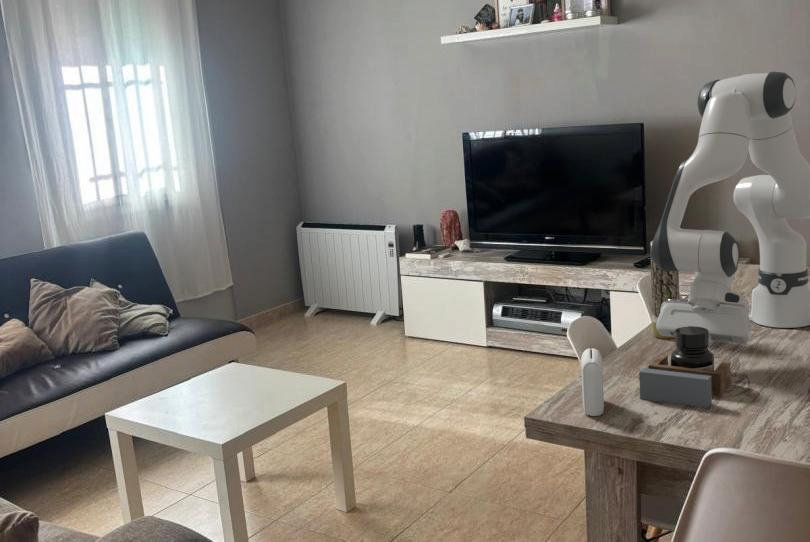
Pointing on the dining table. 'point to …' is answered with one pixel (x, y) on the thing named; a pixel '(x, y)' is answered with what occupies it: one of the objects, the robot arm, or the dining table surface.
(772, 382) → the dining table surface
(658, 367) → the cradle
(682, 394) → the wall
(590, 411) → the photo printer
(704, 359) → the ink bottle
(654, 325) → the paper tube
